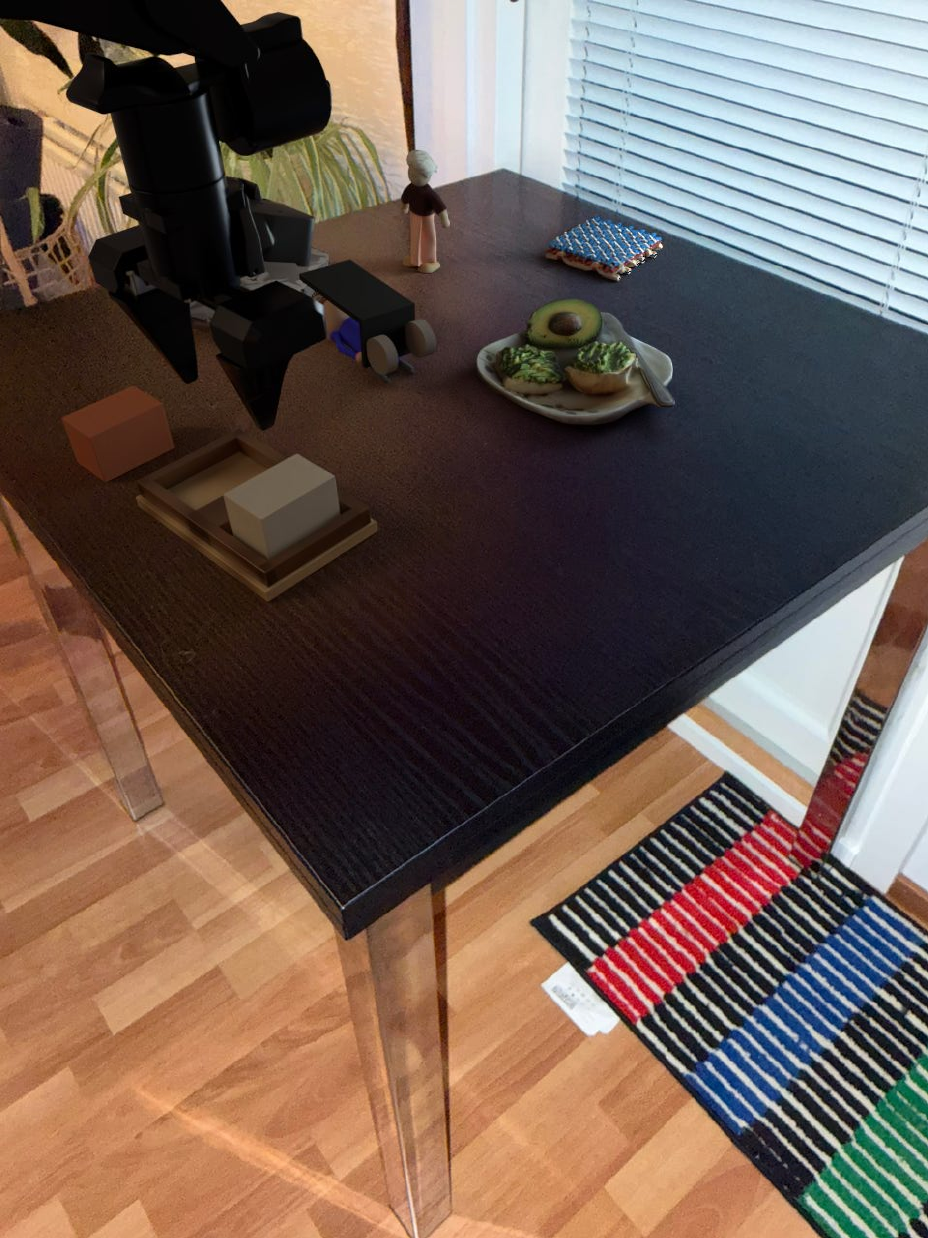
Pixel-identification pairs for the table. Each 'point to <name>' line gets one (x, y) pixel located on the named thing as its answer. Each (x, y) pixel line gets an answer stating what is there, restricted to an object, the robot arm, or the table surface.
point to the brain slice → (273, 272)
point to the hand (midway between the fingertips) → (227, 403)
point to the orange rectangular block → (118, 433)
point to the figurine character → (369, 318)
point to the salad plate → (576, 366)
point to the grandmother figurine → (422, 211)
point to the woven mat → (604, 247)
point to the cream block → (282, 505)
